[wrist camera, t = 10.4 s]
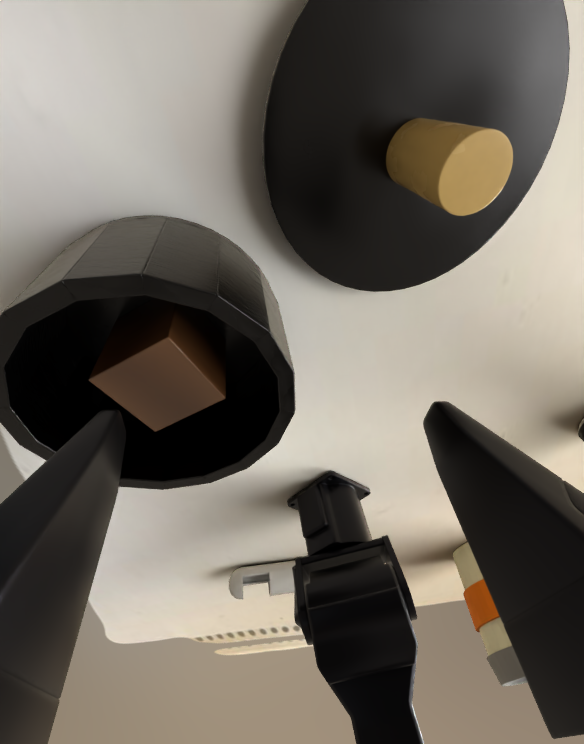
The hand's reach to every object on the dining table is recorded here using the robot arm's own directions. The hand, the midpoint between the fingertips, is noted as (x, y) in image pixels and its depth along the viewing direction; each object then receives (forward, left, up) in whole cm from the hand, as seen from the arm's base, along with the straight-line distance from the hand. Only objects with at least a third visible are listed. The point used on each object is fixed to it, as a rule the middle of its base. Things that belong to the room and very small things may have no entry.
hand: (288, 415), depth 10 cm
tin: (+1, +7, -12) cm, 13 cm away
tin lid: (-2, -8, -11) cm, 14 cm away
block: (+1, +6, -11) cm, 13 cm away
